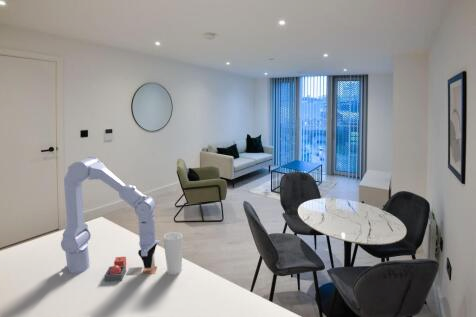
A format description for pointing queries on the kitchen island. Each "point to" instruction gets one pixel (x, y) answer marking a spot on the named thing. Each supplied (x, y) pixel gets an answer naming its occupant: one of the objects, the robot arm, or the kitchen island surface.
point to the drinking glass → (173, 252)
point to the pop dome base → (115, 276)
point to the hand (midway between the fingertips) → (149, 264)
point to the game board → (138, 270)
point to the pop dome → (115, 270)
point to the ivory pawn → (152, 262)
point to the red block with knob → (120, 261)
